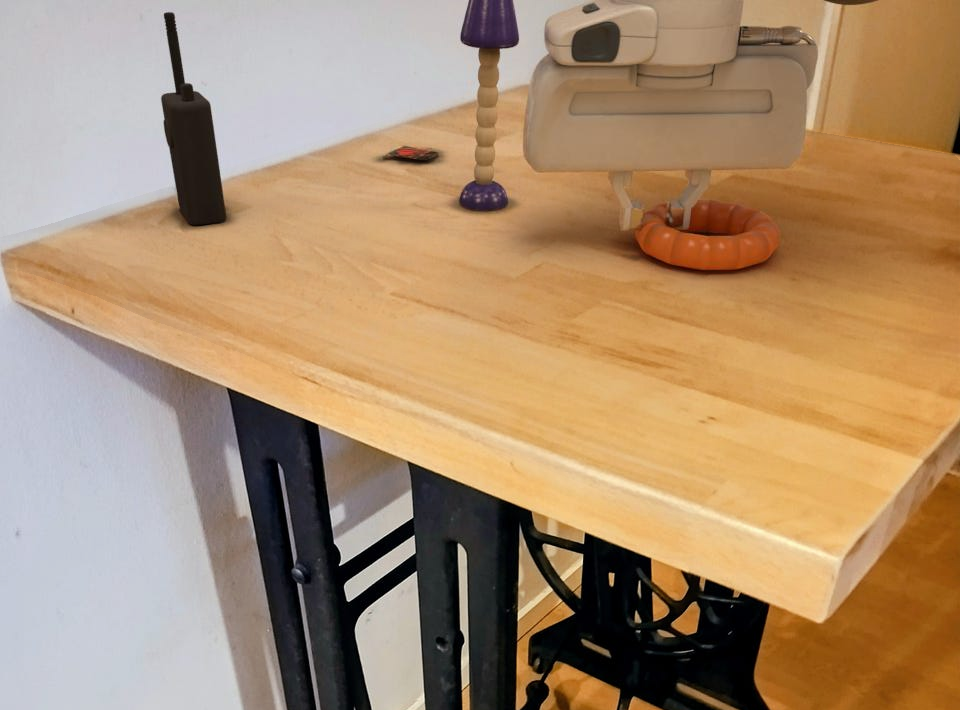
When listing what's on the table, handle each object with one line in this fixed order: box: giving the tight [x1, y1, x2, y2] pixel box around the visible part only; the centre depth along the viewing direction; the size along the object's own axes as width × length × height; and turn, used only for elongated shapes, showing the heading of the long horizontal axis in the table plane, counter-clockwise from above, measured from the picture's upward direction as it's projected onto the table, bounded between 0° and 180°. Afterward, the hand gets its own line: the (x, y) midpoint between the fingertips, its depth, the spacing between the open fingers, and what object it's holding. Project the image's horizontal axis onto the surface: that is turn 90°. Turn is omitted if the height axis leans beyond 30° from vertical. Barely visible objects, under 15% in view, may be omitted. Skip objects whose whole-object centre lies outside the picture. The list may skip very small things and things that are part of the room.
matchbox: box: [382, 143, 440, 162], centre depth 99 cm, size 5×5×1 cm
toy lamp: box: [458, 0, 520, 212], centre depth 83 cm, size 5×5×17 cm
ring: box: [633, 199, 782, 271], centre depth 78 cm, size 11×11×2 cm
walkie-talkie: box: [160, 11, 227, 226], centre depth 81 cm, size 5×3×15 cm
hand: (653, 228), depth 78 cm, fingers closed on ring, 2 cm apart
